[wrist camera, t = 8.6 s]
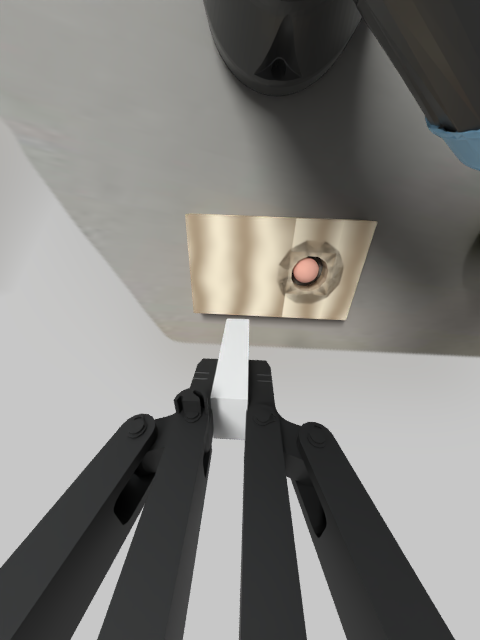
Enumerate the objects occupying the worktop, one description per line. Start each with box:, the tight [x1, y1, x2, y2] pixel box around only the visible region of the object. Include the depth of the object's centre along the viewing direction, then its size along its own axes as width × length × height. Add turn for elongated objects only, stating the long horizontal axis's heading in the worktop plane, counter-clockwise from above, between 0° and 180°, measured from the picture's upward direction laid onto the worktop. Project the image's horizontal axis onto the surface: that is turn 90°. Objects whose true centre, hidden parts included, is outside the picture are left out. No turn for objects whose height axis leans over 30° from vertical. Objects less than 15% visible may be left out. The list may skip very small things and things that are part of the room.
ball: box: [293, 258, 319, 283], centre depth 30 cm, size 4×4×4 cm
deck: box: [185, 214, 377, 320], centre depth 30 cm, size 24×14×2 cm, turn 88°
